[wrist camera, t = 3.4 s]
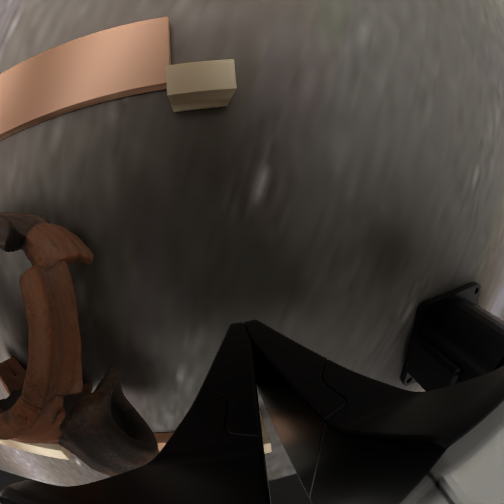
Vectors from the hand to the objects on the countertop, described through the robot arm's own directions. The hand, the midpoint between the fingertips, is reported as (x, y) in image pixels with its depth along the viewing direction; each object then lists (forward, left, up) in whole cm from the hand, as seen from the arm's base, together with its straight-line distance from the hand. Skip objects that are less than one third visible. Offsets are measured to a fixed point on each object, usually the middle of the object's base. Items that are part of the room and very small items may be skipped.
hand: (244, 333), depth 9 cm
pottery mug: (+8, +1, -3) cm, 9 cm away
